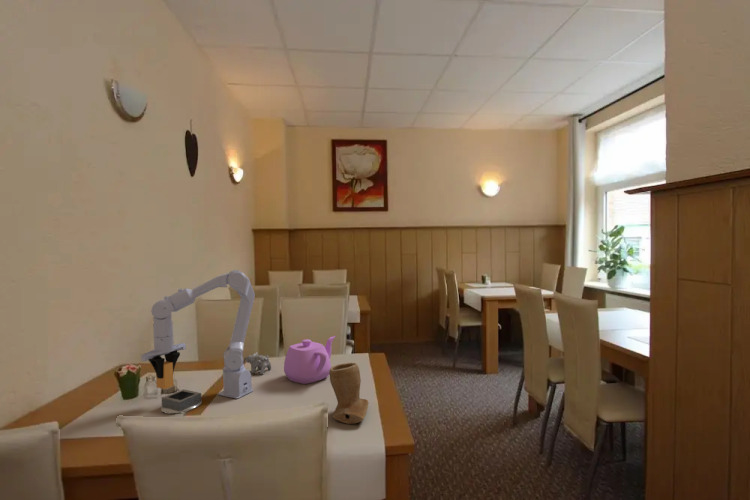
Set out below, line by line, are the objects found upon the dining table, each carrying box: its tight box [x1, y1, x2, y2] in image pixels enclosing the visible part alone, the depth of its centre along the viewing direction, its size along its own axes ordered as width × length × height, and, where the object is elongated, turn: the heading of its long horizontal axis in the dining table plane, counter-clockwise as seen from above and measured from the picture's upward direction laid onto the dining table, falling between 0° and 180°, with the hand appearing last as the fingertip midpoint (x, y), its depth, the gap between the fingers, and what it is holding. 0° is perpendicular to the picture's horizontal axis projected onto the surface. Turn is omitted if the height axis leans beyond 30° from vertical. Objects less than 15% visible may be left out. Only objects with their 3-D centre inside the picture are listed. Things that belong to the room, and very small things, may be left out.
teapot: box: [283, 335, 336, 385], centre depth 147 cm, size 23×21×15 cm
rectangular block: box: [155, 360, 175, 390], centre depth 125 cm, size 3×4×8 cm, turn 63°
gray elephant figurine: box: [243, 351, 272, 376], centre depth 155 cm, size 9×12×8 cm
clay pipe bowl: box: [328, 362, 369, 425], centre depth 113 cm, size 15×12×15 cm
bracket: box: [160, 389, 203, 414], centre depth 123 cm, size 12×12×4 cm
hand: (165, 376), depth 124 cm, fingers closed on rectangular block, 3 cm apart
